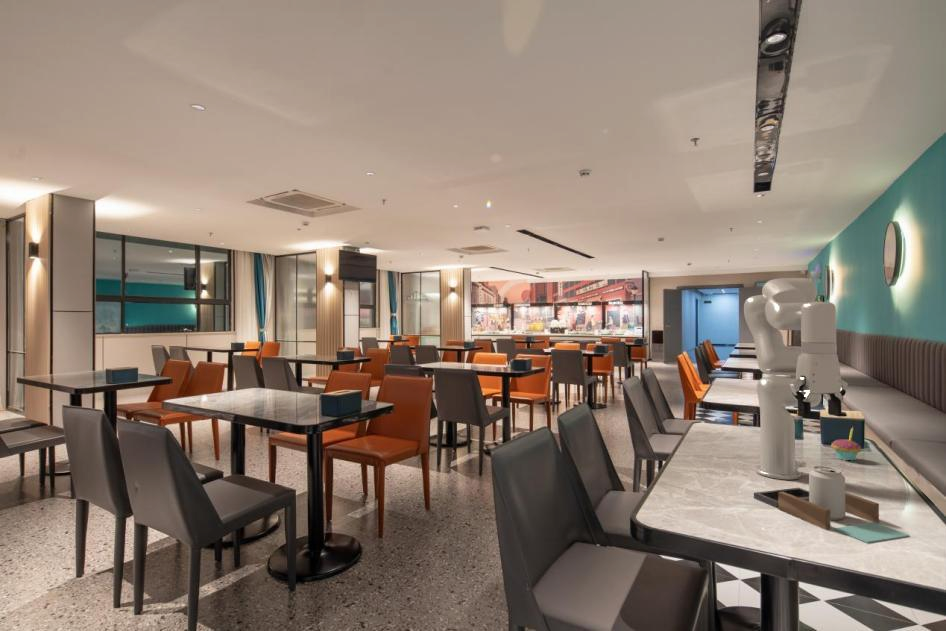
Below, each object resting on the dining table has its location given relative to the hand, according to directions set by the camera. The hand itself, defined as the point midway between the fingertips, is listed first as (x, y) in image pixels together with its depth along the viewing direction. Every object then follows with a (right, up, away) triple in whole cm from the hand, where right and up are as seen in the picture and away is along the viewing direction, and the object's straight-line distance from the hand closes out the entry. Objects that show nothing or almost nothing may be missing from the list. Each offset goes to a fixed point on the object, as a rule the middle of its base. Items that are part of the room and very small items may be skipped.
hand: (819, 416), depth 127 cm
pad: (+4, -25, -12) cm, 28 cm away
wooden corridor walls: (+1, -25, -1) cm, 25 cm away
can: (+1, -25, -1) cm, 25 cm away
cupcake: (+44, -26, +49) cm, 71 cm away
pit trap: (-2, -25, +9) cm, 27 cm away
